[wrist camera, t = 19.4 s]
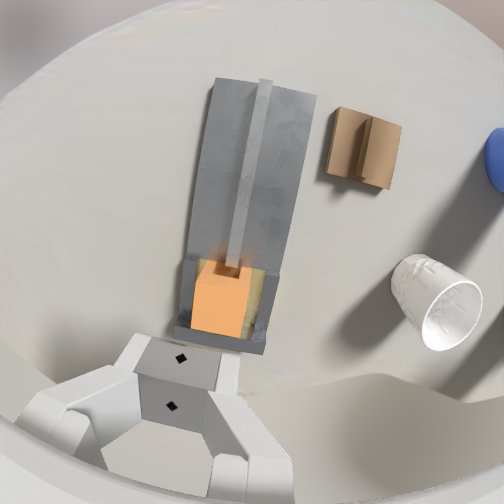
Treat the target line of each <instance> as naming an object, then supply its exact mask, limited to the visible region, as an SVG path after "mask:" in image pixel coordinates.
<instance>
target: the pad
mask: <svg viewBox="0 0 504 504" xmlns="http://www.w3.org/2000/svg"><path fill="white" fill-rule="evenodd" d="M401 129H402V127H401V126H398V125H396V124H393V123H390V122H387V121H385V120H382V119H379V118H376V117H373V116H370V115H367V114H364V113H361V112H357V111H354V110H351V109H347V108H344V107H339V108H337V110H336V115H335V120H334V126H333V131H332V136H331V141H330V146H329V151H328V156H327V161H326V166H325V171H324V172H325V173H329V174H333V175H337V176H341V177H345V178H349V179H353V180H356V181H360V182H364V183H367V184H371V185H374V186H378V187H381V188H385V189H388V190H389V189H390V185H391V180H392V176H393V171H394V166H395V162H396V157H397V151H398V146H399V141H400V135H401Z"/></svg>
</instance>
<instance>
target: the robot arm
mask: <svg viewBox="0 0 504 504" xmlns="http://www.w3.org/2000/svg"><path fill="white" fill-rule="evenodd" d="M221 355H222V356H221ZM240 362H241V356H240V355H239V354H232V353H226V352H217V351H212V350H207V349H202V348H197V347H192V346H187V345H184V344H180V343H176V342H172V341H168V340H164V339H161V338H157V337H152V336H149V335H145V334H142V333H138V332H137V333H135V334H134V335H133V336H132V338H131V339H130V341H129V342H128V344H127V345H126V347H125V348H124V350H123V351H122V353H121V354H120V356H119V357H118V359H117V361H116V362H115V364H114V365H113V366H111V365H106V366H104V367H101V368H99V369H96V370H94V371H91V372H88V373H86V374H83V375H81V376H78V377H76V378H73V379H70V380H68V381H65V382H63V383H60V384H57V385H55V386H52V387H49V388H47V389H44V390H41V391H38V392H37V393H36V395H35V396H34V397H33V399H32V400H31V401H30V403H29V404H28V405H27V406H26V408H25V409H24V410H23V412H22V413H21V415H20V416H19V417H18V418H17V420H16V421H15V423H14V424H13V423H11V422H10V421H8V420H7V419H5V418H4V417H2V416H1V415H0V504H294V487H293V470H292V460H291V458H290V457H289V456H288V455H287V454H286V452H285V451H284V450H283V448H282V447H281V446H280V445H279V444H278V442H277V441H276V440H275V439H274V437H273V436H272V435H271V434H270V433H269V431H268V430H267V428H266V427H265V426H264V425H263V423H262V422H261V421H260V420H259V418H258V417H257V416H256V414H255V413H254V412H253V410H252V409H251V408H250V407H249V405H248V404H247V403H246V401H245V399H244V398H243V397H241V396H237V390H238V381H239V371H240ZM142 419H144V420H148V421H152V422H156V423H160V424H164V425H169V426H173V427H177V428H181V429H185V430H189V431H193V432H198V433H202V436H203V438H204V440H205V442H206V444H207V447H208V449H209V451H210V453H211V455H212V457H213V459H214V463H213V467H212V472H211V477H210V481H209V486H208V490H207V495H206V498H205V497H199V496H194V495H189V494H184V493H180V492H175V491H171V490H167V489H163V488H159V487H155V486H152V485H148V484H145V483H142V482H138V481H135V480H132V479H129V478H126V477H123V476H120V475H117V474H114V473H111V472H109V471H108V469H107V466H106V463H105V461H104V459H103V456H102V453H101V451H100V449H101V448H103V447H104V446H106V445H107V444H109V443H110V442H111V441H113V440H114V439H116V438H118V437H119V436H120V435H122V434H123V433H125V432H126V431H128V430H129V429H130V428H132V427H134V426H135V425H136V424H138V423H139V422H140V421H142ZM341 504H504V461H502V462H500V463H497V464H495V465H493V466H491V467H488V468H486V469H483V470H481V471H478V472H476V473H473V474H470V475H468V476H465V477H463V478H459V479H456V480H453V481H450V482H447V483H444V484H441V485H438V486H434V487H431V488H427V489H423V490H419V491H415V492H411V493H407V494H402V495H397V496H392V497H387V498H381V499H374V500H368V501H360V502H351V503H341Z"/></svg>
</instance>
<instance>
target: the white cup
mask: <svg viewBox="0 0 504 504" xmlns="http://www.w3.org/2000/svg"><path fill="white" fill-rule="evenodd" d="M391 292H392V293H393V295H394V297H395V299H396V300H397V302H398V303H399V304H400V307H401V309H402V310H403V312H404V314H405V315H406V317H407V318H408V320H409V321H410V323H411V324H412V326H413V327H414V329H415V330H416V332H417V333H418V335H419V336H420V338H421V339H422V341H423V343H424V344H425V345H426V347H428V348H429V349H431V350H434V351H444V350H448V349H450V348H453V347H454V346H456V345H458V344H459V343H460V342H462V341H463V340H464V339H465V338H466V337H467V336H468V335H469V334H470V332H471V331H472V330H473V328H474V327H475V325H476V323H477V321H478V319H479V317H480V314H481V310H482V303H483V300H482V293H481V291H480V289H479V287H478V286H477V285H476V284H475V283H473V282H472V281H470V280H469V279H467V278H465V277H464V276H462V275H461V274H459V273H457V272H456V271H454V270H453V269H451V268H449V267H448V266H446V265H444V264H442V263H440V262H438V261H435V260H433V259H431V258H430V257H428V256H426V255H425V254H412V255H410V256H408V257H406V258H404V259H403V260H402V261H401V262H400V263H399V265H398V266H397V267H396V268H395V270H394V273H393V275H392V278H391Z"/></svg>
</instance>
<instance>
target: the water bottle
mask: <svg viewBox="0 0 504 504" xmlns="http://www.w3.org/2000/svg"><path fill="white" fill-rule="evenodd" d="M485 164H486V170H487V173H488V176H489V179H490V181H491V183H492V184H493V186H494V187H495V188H496V189H497V190H498V191H500V192H503V193H504V128H498V129H495V130H494V131H493V132H492V133H491V134H490V136H489V138H488V140H487V143H486V148H485Z"/></svg>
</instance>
